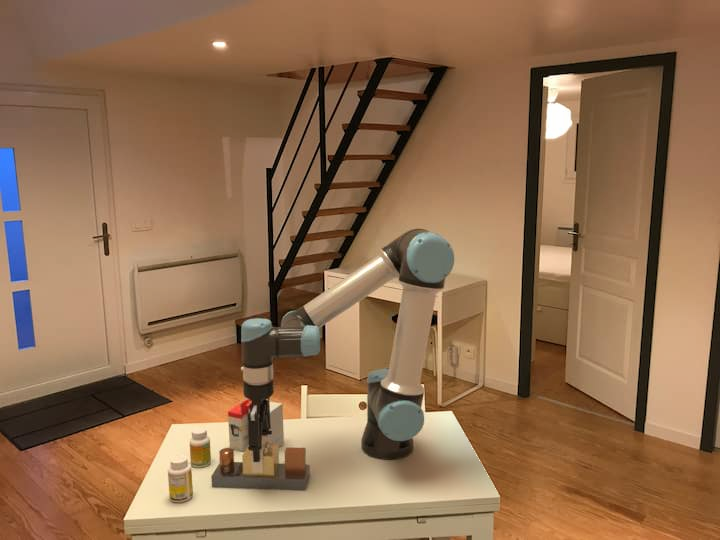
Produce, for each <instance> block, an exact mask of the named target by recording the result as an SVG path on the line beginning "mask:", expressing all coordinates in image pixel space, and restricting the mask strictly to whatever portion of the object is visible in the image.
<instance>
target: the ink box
mask: <svg viewBox="0 0 720 540" xmlns="http://www.w3.org/2000/svg"><path fill="white" fill-rule="evenodd" d="M251 402H252V401H251V400H250V399H248V398H246V400H243V402H241V403H239V404H237V405H236V406H234V407H233V408H231V409H229V410H228V411H227V416H228V418H227V419H228V421H227V422H228V436H229V437H228V438H229V439H228V440H229V442H228V443H229V448H232V449H233V450H234V451H235V450H236V451H240V452H245V450H246V448H247V446H248V445H249V429H248V416H247V414H248V412H249V410H248V409H249V408H250V404H251Z"/></svg>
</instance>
